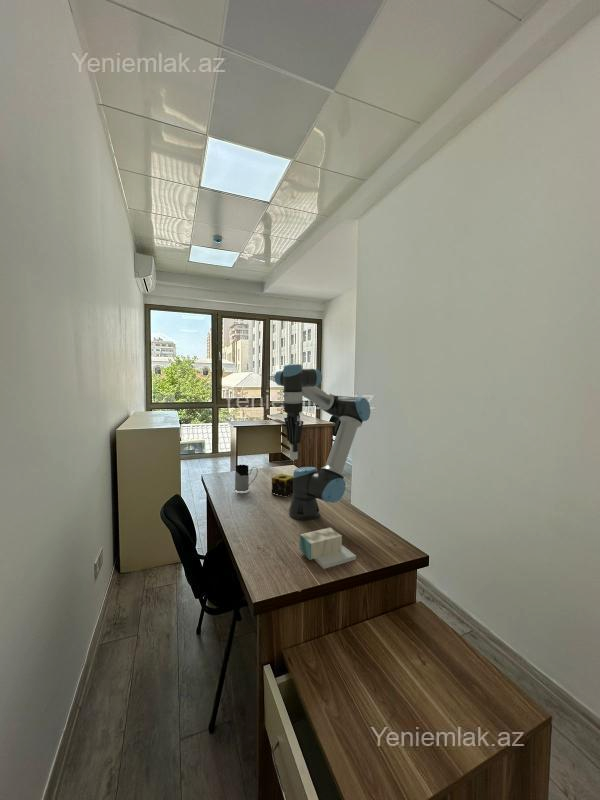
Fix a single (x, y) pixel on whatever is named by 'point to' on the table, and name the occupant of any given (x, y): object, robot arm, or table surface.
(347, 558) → the pad
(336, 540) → the birch block
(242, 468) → the glass mug
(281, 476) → the candle
